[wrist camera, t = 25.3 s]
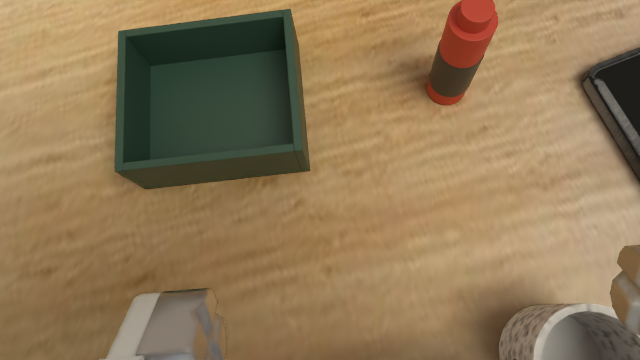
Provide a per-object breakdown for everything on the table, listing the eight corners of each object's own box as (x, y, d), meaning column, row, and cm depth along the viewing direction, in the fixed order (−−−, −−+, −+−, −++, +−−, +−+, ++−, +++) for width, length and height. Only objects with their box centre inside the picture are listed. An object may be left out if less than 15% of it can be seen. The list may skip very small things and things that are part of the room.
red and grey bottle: (429, 108, 37) (456, 33, 27) (423, 73, 38) (447, -12, 28) (468, 103, 37) (510, 26, 27) (462, 68, 38) (499, -19, 28)
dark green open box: (145, 189, 37) (114, 171, 33) (146, 63, 41) (118, 30, 36) (310, 171, 37) (302, 150, 32) (298, 44, 40) (290, 8, 35)
